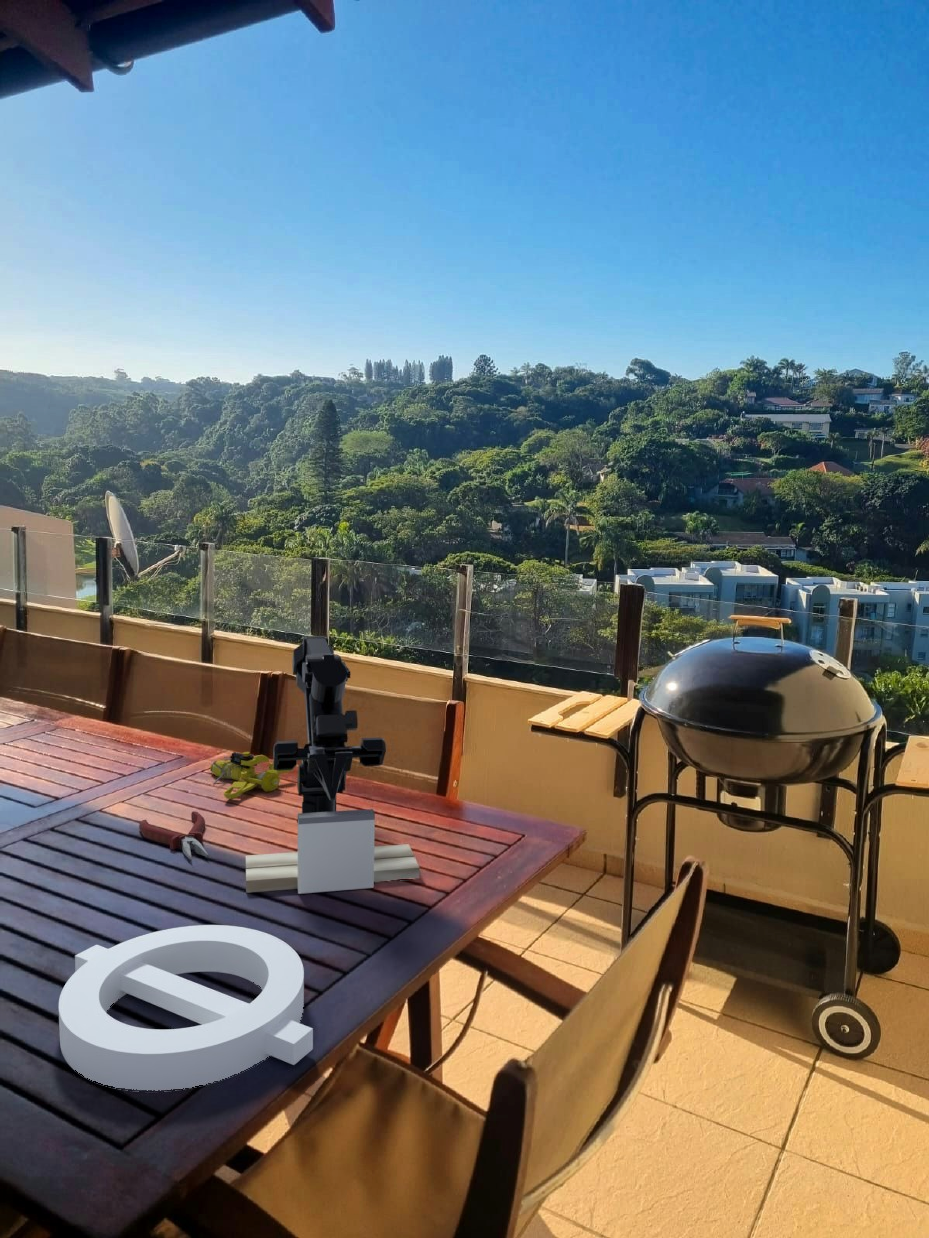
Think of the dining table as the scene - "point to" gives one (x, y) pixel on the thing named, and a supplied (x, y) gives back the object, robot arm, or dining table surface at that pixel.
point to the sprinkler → (246, 773)
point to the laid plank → (283, 868)
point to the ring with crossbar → (183, 1008)
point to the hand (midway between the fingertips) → (332, 799)
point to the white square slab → (335, 850)
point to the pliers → (178, 836)
